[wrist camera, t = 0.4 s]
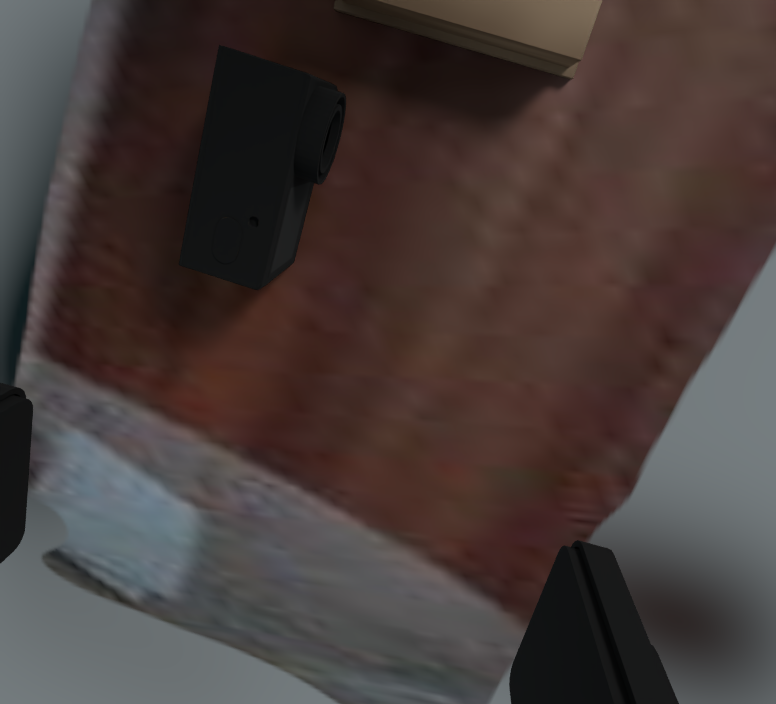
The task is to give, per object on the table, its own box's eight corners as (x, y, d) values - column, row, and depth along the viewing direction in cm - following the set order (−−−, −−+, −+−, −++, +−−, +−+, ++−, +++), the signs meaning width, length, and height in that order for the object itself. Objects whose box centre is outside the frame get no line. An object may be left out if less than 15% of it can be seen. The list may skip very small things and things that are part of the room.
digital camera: (312, 272, 37) (281, 301, 30) (226, 244, 37) (176, 267, 30) (359, 92, 33) (336, 82, 27) (264, 61, 33) (217, 43, 27)
